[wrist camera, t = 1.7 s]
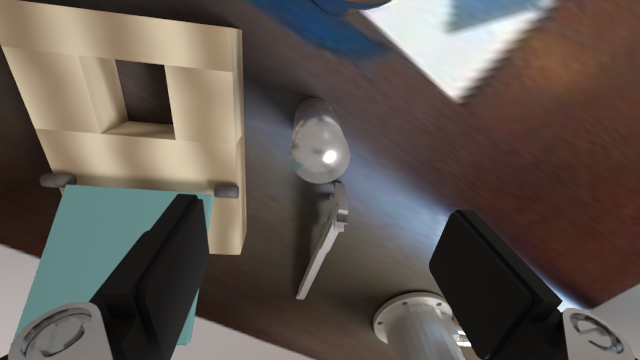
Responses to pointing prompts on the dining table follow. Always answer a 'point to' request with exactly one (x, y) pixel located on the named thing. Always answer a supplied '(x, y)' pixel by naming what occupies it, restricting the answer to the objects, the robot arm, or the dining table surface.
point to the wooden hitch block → (110, 111)
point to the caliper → (326, 236)
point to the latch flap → (96, 244)
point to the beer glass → (351, 5)
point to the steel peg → (318, 143)
